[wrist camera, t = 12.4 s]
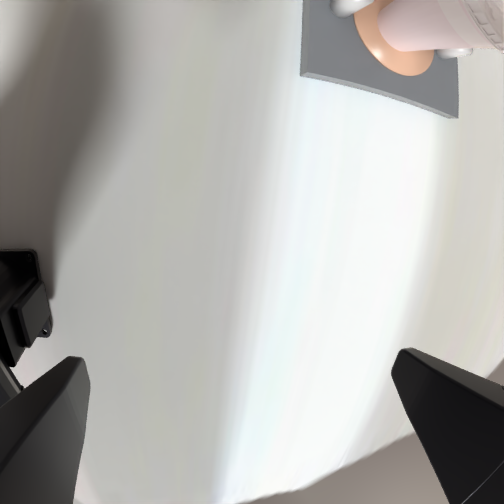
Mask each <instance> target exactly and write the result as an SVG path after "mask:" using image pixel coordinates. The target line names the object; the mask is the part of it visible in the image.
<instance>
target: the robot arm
mask: <svg viewBox="0 0 504 504" xmlns="http://www.w3.org/2000/svg"><path fill="white" fill-rule="evenodd" d="M28 254H29V255H31V256H32V260H30V259H29V257H28ZM49 316H50V311H49V307H48V302H47V297H46V292H45V287H44V282H43V281H42V280H41V276H40V270H39V264H38V257H37V253H36V252H35V251H34V250H33V249H4V250H0V504H73V499H74V492H75V486H76V480H77V474H78V469H79V463H80V458H81V453H82V448H83V444H84V438H85V430H86V420H87V411H88V403H89V395H90V380H89V376H88V372H87V368H86V364H85V361H84V359H83V358H82V357H75V356H68V357H67V358H65V359H64V360H63V361H61V362H60V363H58V364H57V365H56V366H54V367H53V368H52V369H50V370H49V371H48V372H46V373H45V374H44V375H42V376H41V377H40V378H38V379H37V380H36V381H34V382H33V383H32V384H30V385H29V386H28V387H26V388H24V387H23V386H22V385H20V383H19V382H18V380H17V379H16V377H15V375H14V374H13V372H12V371H11V369H10V367H15V366H16V364H17V362H18V361H19V359H20V357H21V355H22V354H23V352H24V350H25V348H30V347H31V346H32V344H33V342H34V341H35V339H36V337H44V338H47V337H49V336H50V334H51V332H52V328H51V324H50V320H49ZM43 329H46V330H47V332H45V331H44V330H43ZM391 376H392V379H393V381H394V384H395V386H396V389H397V391H398V394H399V396H400V399H401V401H402V404H403V406H404V409H405V411H406V414H407V416H408V418H409V420H410V422H411V424H412V426H413V428H414V430H415V432H416V434H417V436H418V438H419V440H420V442H421V444H422V446H423V448H424V450H425V452H426V454H427V456H428V458H429V460H430V462H431V465H432V467H433V469H434V471H435V473H436V475H437V477H438V479H439V482H440V483H441V486H442V488H443V490H444V493H445V495H446V497H447V499H448V502H449V504H504V386H501V385H500V384H497V383H495V382H492V381H490V380H487V379H485V378H483V377H480V376H478V375H475V374H473V373H471V372H468V371H466V370H464V369H461V368H459V367H456V366H454V365H452V364H449V363H447V362H445V361H442V360H440V359H438V358H435V357H433V356H431V355H428V354H426V353H424V352H421V351H419V350H417V349H415V348H404V349H401V350H400V351H399V353H398V355H397V357H396V360H395V362H394V365H393V367H392V370H391Z"/></svg>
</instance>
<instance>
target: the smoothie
mask: <svg viewBox="0 0 504 504" xmlns="http://www.w3.org/2000/svg"><path fill="white" fill-rule="evenodd" d="M377 24H378V28H379V31H380V33H381V35H382V36H383V38H384V39H385V41H386V42H387V43H388V44H389V45H390V46H392V47H393V48H395V49H396V50H399V51H402V52H408V51H419V50H434V49H462V48H478V49H497V50H499V51H500V52H501V53H503V54H504V0H394V1H393V2H391V3H390V4H389V5H387V6H386V7H385V8H383V9H382V10H381V11H380V12H379V13H378V16H377Z"/></svg>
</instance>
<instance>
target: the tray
mask: <svg viewBox="0 0 504 504" xmlns="http://www.w3.org/2000/svg"><path fill="white" fill-rule="evenodd" d="M393 1H394V0H303V16H302V43H301V64H300V76H303V77H308V78H314V79H319V80H323V81H328V82H333V83H337V84H341V85H345V86H350V87H354V88H357V89H361V90H365V91H369V92H372V93H376V94H379V95H383V96H386V97H389V98H393V99H396V100H399V101H402V102H405V103H408V104H411V105H414V106H417V107H420V108H423V109H425V110H428V111H431V112H433V113H436V114H439V115H441V116H444V117H446V118H458V106H459V94H458V64H457V57H461V56H467V55H472V53H473V48H462V49H434V50H419V51H408V52H402V51H399V50H396V49H395V48H393V47H392V46H390V45H389V44H388V43H387V42H386V41H385V39H384V38H383V36H382V35H381V33H380V31H379V28H378V24H377V16H378V13H379V12H380V11H381V10H382V9H383V8H385V7H386V6H387V5H389V4H390V3H391V2H393Z"/></svg>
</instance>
